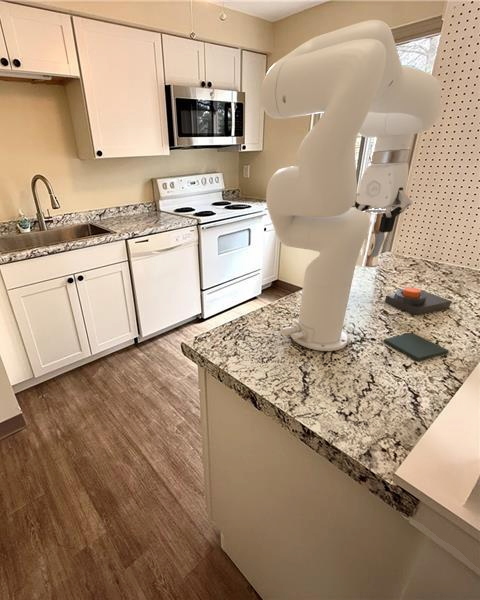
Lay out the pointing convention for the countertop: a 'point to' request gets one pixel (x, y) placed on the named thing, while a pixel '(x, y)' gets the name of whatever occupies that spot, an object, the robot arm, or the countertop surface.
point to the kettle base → (418, 302)
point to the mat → (415, 346)
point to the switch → (411, 292)
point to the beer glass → (372, 239)
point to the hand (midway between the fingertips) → (373, 228)
